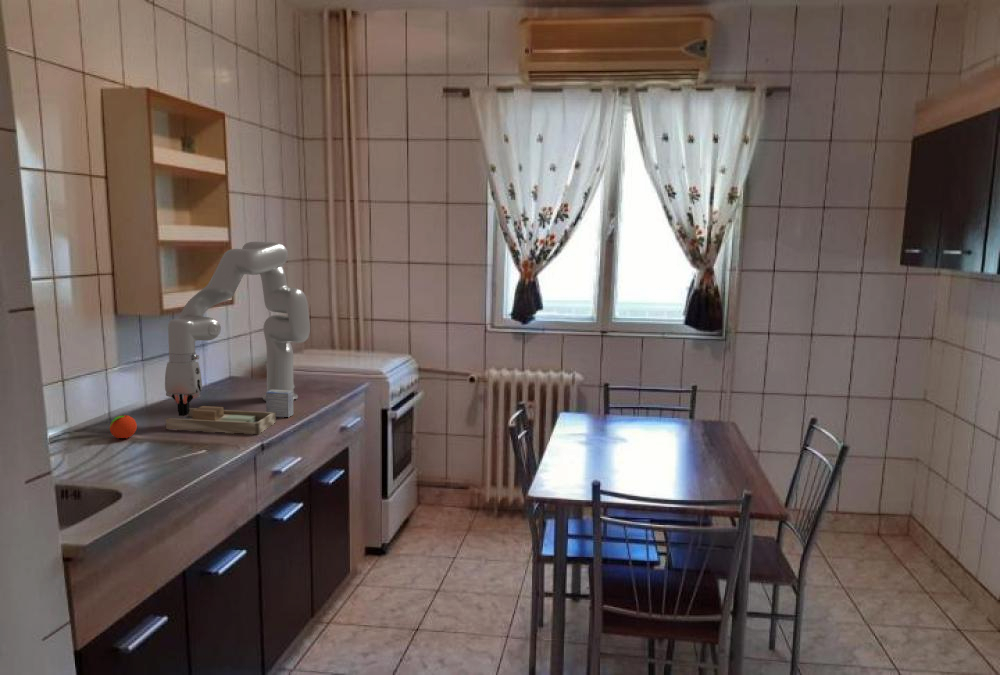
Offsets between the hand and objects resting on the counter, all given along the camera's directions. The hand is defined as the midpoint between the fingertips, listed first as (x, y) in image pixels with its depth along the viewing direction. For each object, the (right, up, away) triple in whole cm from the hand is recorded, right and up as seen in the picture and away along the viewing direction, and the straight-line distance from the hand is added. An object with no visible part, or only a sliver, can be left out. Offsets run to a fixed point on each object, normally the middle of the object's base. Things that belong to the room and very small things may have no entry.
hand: (183, 414), depth 214 cm
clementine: (-10, -5, -17) cm, 20 cm away
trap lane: (+12, -4, 0) cm, 13 cm away
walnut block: (+8, -1, 0) cm, 8 cm away
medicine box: (+26, -2, +15) cm, 30 cm away
